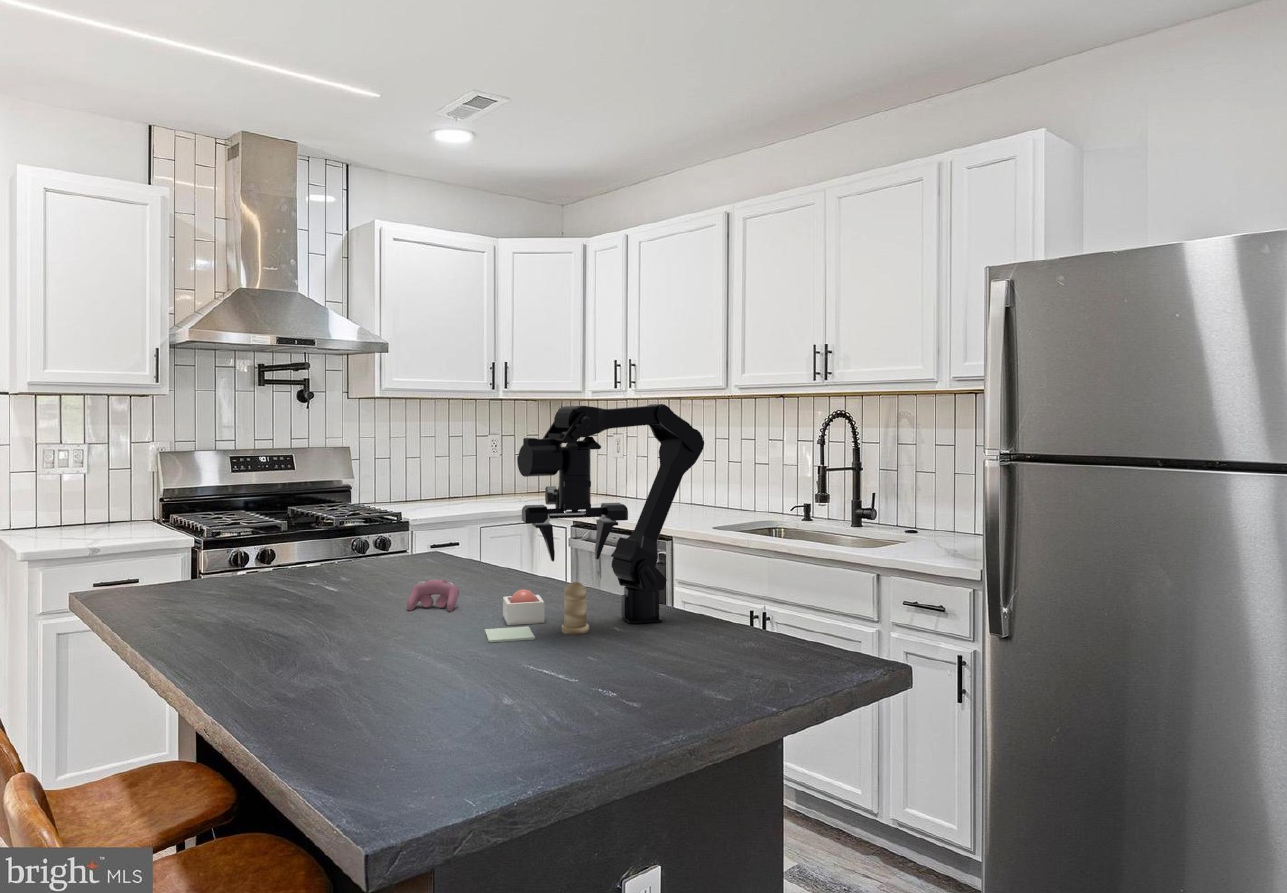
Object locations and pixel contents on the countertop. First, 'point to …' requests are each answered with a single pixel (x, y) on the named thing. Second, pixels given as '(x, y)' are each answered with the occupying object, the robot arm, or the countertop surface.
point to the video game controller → (432, 587)
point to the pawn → (575, 609)
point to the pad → (509, 634)
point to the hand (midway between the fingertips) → (575, 560)
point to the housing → (523, 611)
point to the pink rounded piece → (523, 596)
